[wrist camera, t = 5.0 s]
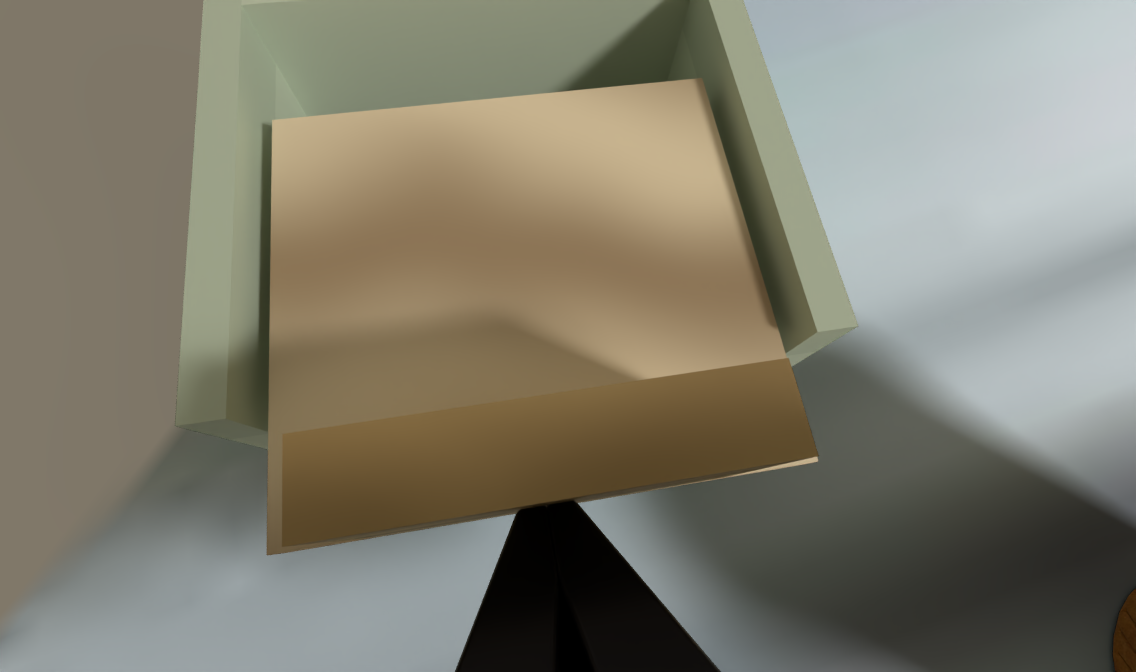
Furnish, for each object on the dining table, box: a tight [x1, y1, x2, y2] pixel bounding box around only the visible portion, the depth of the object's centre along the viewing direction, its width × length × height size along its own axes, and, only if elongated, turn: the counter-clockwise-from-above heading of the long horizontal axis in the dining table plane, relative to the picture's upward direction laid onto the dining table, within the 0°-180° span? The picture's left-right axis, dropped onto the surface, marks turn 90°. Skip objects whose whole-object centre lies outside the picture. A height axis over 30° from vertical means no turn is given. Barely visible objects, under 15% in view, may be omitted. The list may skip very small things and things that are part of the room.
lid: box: [267, 78, 819, 555], centre depth 9 cm, size 9×10×4 cm
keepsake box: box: [175, 0, 858, 449], centre depth 15 cm, size 10×12×8 cm
